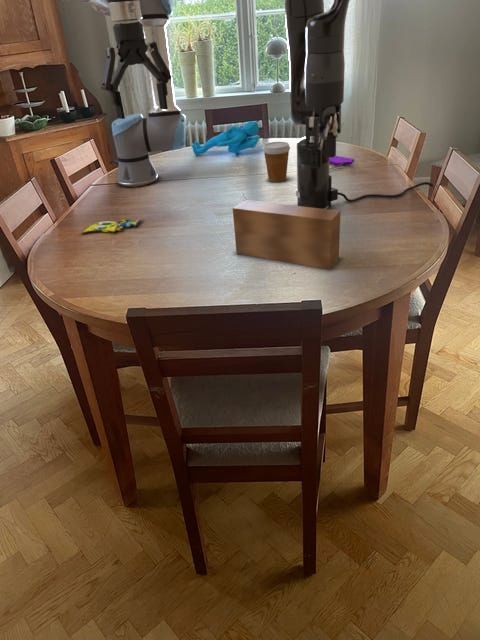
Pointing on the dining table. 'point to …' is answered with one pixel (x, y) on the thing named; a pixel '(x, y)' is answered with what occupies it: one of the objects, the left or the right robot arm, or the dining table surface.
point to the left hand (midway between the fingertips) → (143, 113)
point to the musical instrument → (340, 161)
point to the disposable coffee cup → (276, 160)
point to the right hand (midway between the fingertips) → (323, 162)
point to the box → (287, 233)
